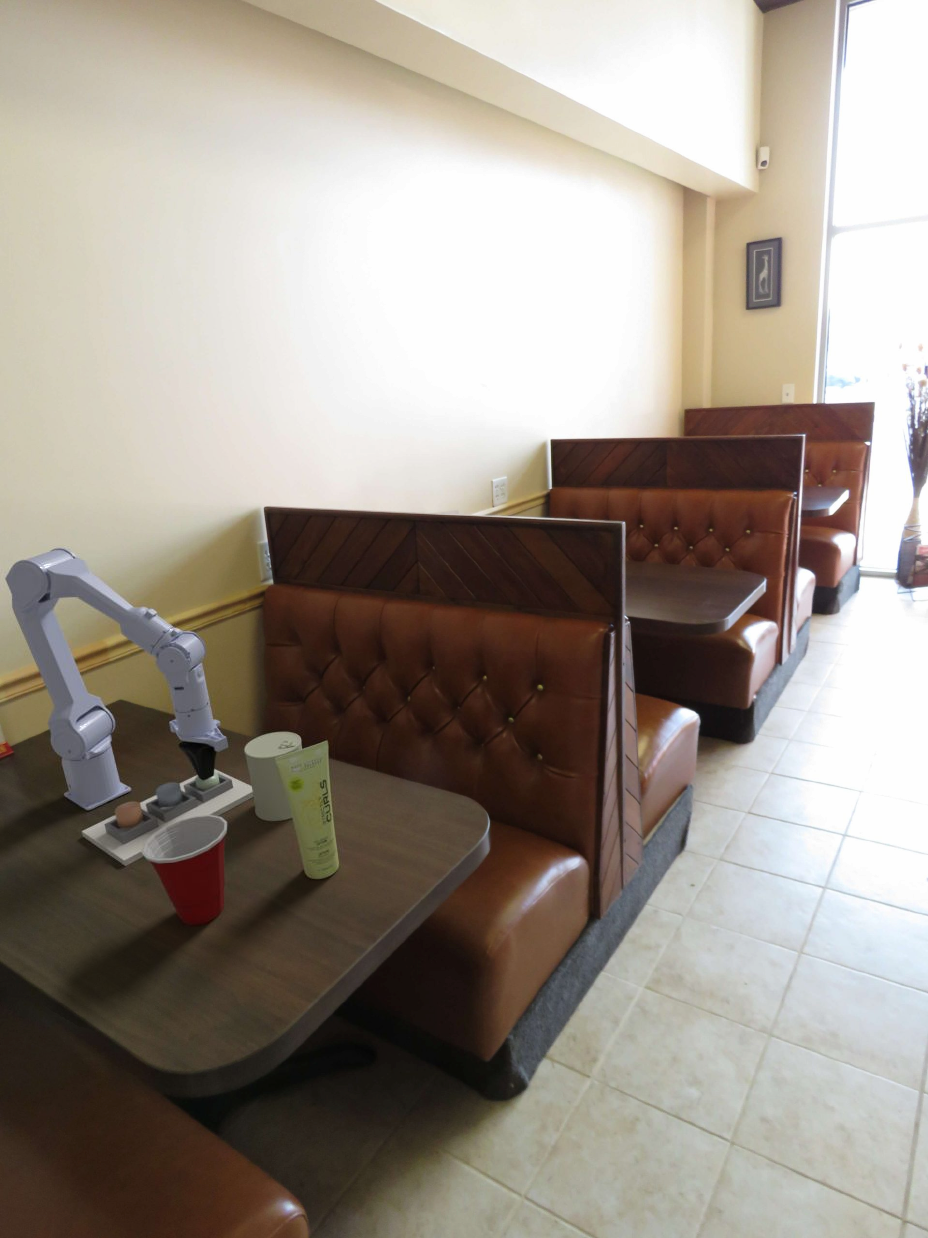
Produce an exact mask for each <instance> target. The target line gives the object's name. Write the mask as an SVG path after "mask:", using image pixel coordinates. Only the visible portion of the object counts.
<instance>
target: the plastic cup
mask: <svg viewBox="0 0 928 1238" xmlns="http://www.w3.org/2000/svg"><path fill="white" fill-rule="evenodd" d="M227 832H228V821H227V820H225V818H223V817H222V816H220V815H219V816H213V815H203V816H194V817H190V818H186V819H182V820H179V821H177V822H174V823H172V824H170V825H167V826H165V827H163V828H162V829H160V830H158V831H157V832H155V833H154V834H152V835H151V836H150V837H149V838H148V839H147V840H146V841H145V843H144V844H143V847H142V851H141V853H142V854H143V855H144V856H143V857H144V858H145V859H146V860H147V861H148V862H150V864H151V865H152V867H153V869H154V870H155V872H156V873H157V875H158V878H159V880H160V882H161V884H162V886H163V888H164V890H165V892H166V895H167V897H168V898H169V901H170V902H171V903H172V906H173V907H174V909H175V912H176V914H177V916H178V917H179V919H180V920H181V921H182V923H183V924H186V925H188V926H198V925H204V924H207V923H208V922H210V921H213V920H215V919H216V918H217V917H218V916H219V915H220V914H221V913H222V912H223V909H224V907H225V885H226V884H225V880H226V877H225V845H226V844H225V843H226V842H225V840H226V834H227Z"/></svg>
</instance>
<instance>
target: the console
mask: <svg viewBox="0 0 928 1238" xmlns="http://www.w3.org/2000/svg"><path fill="white" fill-rule="evenodd" d="M214 772H217V773H218V777H219V782H220V784H218V785H216V786H214V787H213V788H211V789H209V790H207V791H205V792H202V791H200V790H198V789H197V786H196V781H195V778H196V777H197V776H198V775H197V774H196V775H194V776H193V777H190V778H188V779H186V780H184V781H182V782H180V783H179V784H180V788H181V792H182V797H183V799H182V801H181V802H180V803H178V804H176V805H174V806H171V807H161V806H159V803H158V799H157V795H156V794H155V795H153V796H151V797H149V798H147V799H145V800H143V801H141V802H139V803H140V805H141V810H142V814H143V820H142V821H141V822H140V823H139V824H137V825H135V826H132V827H128V828H121V827H119V826H118V823H117V820H116V816H115V815H111V816H110V817H108V818H106V819H105V820H102V821H100V822H98V823H96V824H93V825H92V826H90V827H88V828H86V829H84V830H82V831H81V834H82V837H83V838H85V839H86V840H87V841H89V842H91V843H92V844H93V845H95V846H96V847H97V848H99V849H100V850H102V851H103V852H104V853H106V854H107V855H109V856H110V857H112V858H114V859H115V860H116V861H118V862H119V863H120V864H121V865H123V866H125V867H127V866H129V865H130V864H132V863H135V862H136V861H138V860H140V859H141V858H143V857H145V856H144V855H143V854H142V853H141V851H142V847H143V844H144V843H145V841H146V840H147V839H148V838H149V837H150V836H151V835H152V834H154V833H155V832H157V831H158V830H160V829H162V828H163V827H165V826H167V825H170V824H172V823H174V822H177V821H179V820H182V819H186V818H190V817H194V816H203V815H213V816H219V817H220V816H221V815H222V814H224V813H226V812H227V811H230V810H231V809H233V808H235V807H237V806H239V805H241V804H242V803H244V802H247V801H248V800H250V799H252V798H254V796H253V791H252V785H251V784H248V783H245V782H244V781H241V780H240V779H237V778H234V777H233V776H231V775H228V774H226V773H224V772H222V771H220V770H217V769H216V768H214Z"/></svg>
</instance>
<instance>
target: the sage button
mask: <svg viewBox="0 0 928 1238" xmlns="http://www.w3.org/2000/svg"><path fill="white" fill-rule="evenodd" d="M195 781H196V786H197V789H198V790H200V791H202V792H205V791H207V790H209V789H211V788H213V787H214V786H216V785H218V784H220V782H219V777H218V773H217V772H214V776H212V777H210V778H208V779H206V780H201V779H200V778H199V777H198V776H197V777H196V778H195Z"/></svg>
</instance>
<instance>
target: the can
mask: <svg viewBox="0 0 928 1238" xmlns="http://www.w3.org/2000/svg"><path fill="white" fill-rule="evenodd" d="M301 749H303V746H302V738H301V736H300V735H298V734H297V733H295V732H290V731H276V732H270V733H269V732H268V733H265V734H262V735H260V736H257V737H256V738H254V739H251V740H250V741H249V742H248V743H246V744H245V746H244V750H243V751H244V755H245V759H246V764H247V769H248V773H249V779H250V783H251V784H250V786H252V791H253V796H254V797H253V802H254V812H255V815H256V816H257V817H258V818H259V819H261V820H264V821H266V822H267V821H268V822H280V821H286V820H289V819H293V818H292V814H291V810H290V807H289V803H288V799H287V795H286V792H285V788H284V785H283V782H282V779H281V776H280V773H279V770H278V767H277V765H276V762H275V758H277V757H280V756H283V755H286V754H289V753H292V752H295V751H298V750H301Z"/></svg>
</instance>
